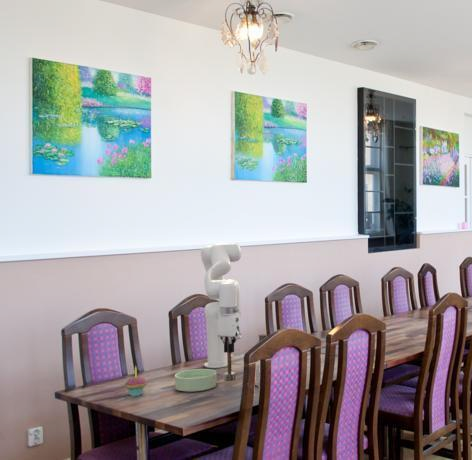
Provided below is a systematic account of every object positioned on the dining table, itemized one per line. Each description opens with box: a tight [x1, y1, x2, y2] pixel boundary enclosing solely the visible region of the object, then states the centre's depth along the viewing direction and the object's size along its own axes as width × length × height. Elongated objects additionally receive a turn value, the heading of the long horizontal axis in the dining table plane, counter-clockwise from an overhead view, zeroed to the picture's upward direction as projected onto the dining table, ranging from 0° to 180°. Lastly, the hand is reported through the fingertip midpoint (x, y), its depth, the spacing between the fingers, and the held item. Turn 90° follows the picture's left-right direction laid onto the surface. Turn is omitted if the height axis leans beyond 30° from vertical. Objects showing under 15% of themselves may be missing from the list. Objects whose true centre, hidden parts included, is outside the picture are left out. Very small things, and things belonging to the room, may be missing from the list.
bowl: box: [174, 368, 218, 393], centre depth 279 cm, size 17×17×6 cm
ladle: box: [223, 340, 237, 382], centre depth 281 cm, size 5×5×18 cm
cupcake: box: [124, 364, 148, 397], centre depth 269 cm, size 9×8×12 cm
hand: (229, 351), depth 281 cm, fingers closed on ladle
